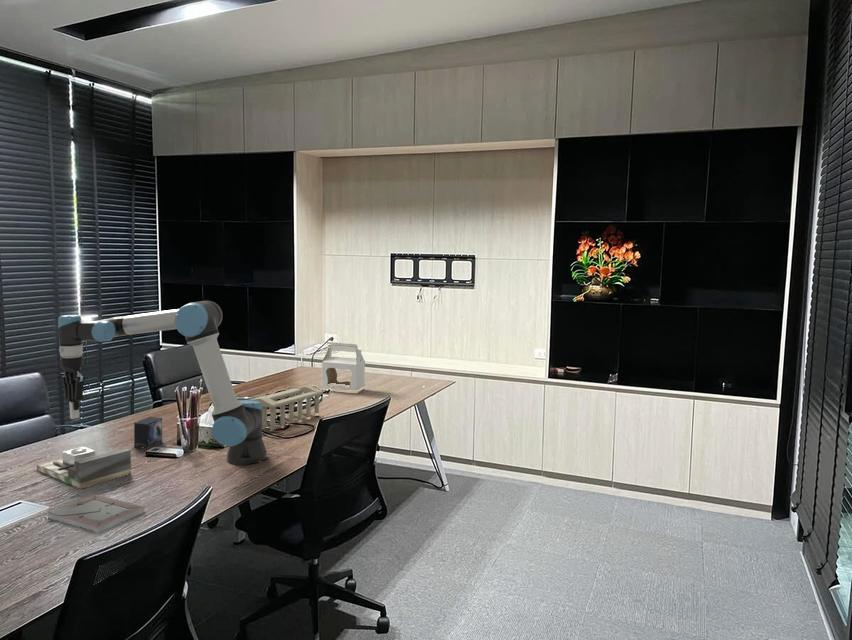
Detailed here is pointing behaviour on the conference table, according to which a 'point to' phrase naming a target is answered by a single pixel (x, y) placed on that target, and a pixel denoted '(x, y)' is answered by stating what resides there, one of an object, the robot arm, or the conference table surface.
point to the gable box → (343, 367)
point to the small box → (147, 432)
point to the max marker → (71, 472)
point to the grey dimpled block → (75, 456)
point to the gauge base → (91, 468)
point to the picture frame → (96, 512)
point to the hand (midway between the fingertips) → (74, 417)
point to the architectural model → (272, 404)
